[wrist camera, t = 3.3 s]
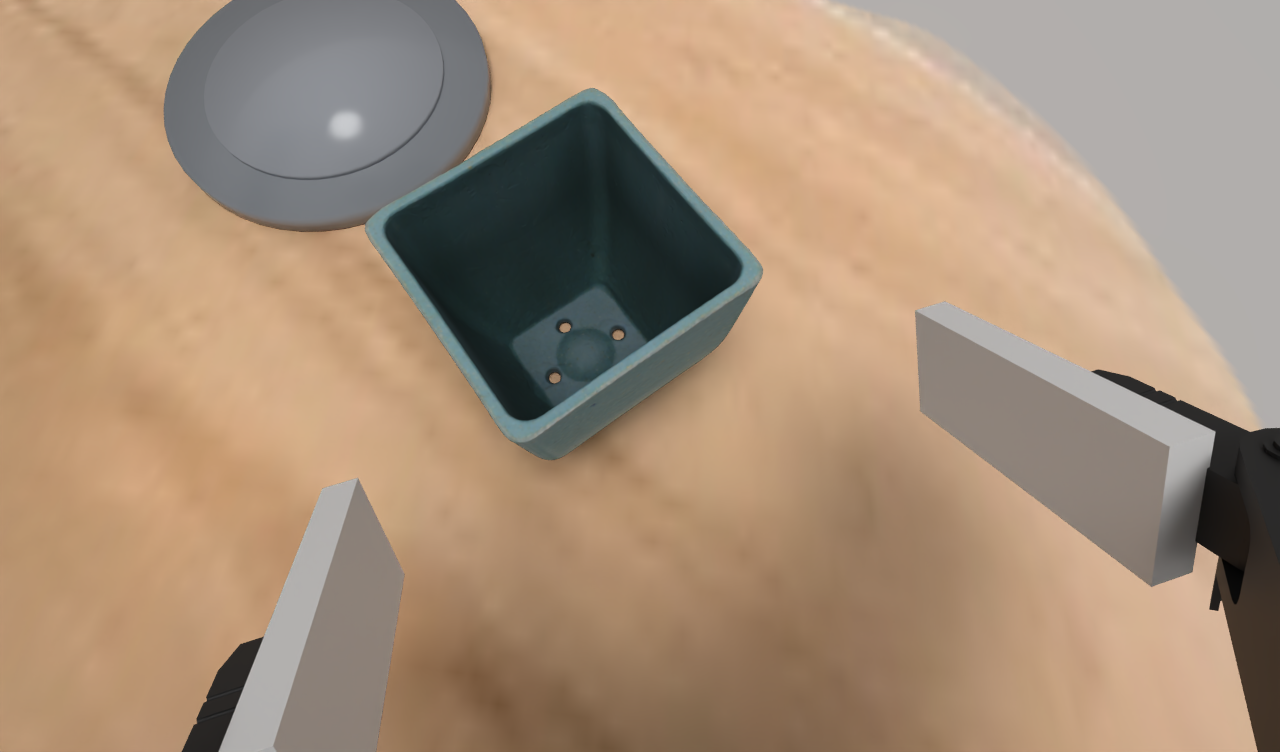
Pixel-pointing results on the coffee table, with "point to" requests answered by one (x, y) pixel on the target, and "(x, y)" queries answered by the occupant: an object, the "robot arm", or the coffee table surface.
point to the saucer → (325, 106)
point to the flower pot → (567, 271)
